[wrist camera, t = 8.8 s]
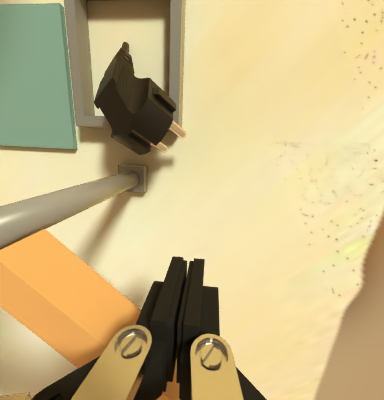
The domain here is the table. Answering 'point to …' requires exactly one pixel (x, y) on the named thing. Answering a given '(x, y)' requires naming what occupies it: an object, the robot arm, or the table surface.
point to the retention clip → (64, 300)
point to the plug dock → (84, 116)
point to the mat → (35, 78)
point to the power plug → (135, 106)
